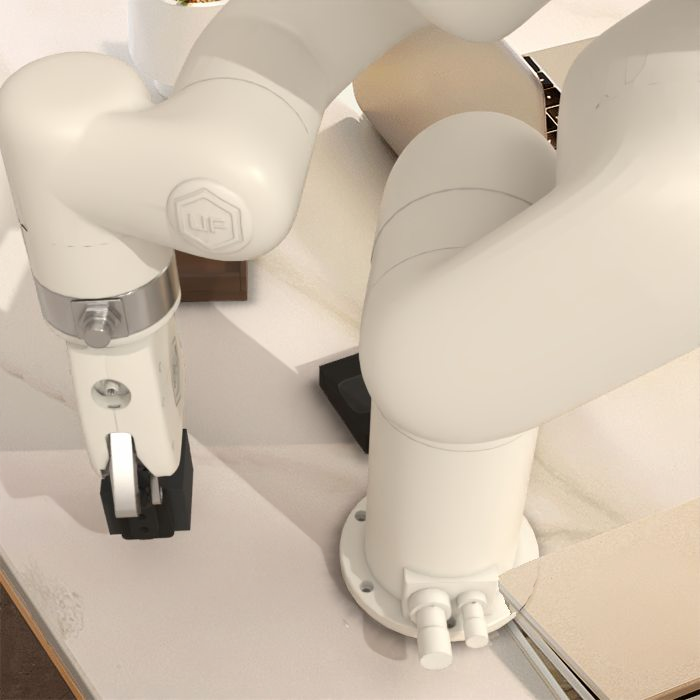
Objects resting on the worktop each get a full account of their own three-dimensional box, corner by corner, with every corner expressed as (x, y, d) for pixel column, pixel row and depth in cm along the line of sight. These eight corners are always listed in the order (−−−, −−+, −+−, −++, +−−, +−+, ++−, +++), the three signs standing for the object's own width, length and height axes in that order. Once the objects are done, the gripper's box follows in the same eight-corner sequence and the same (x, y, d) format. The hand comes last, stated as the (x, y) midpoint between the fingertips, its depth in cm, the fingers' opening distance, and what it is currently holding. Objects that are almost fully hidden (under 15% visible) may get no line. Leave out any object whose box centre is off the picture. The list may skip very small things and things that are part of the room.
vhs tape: (542, 391, 92) (545, 372, 91) (366, 456, 87) (367, 436, 86) (488, 328, 97) (490, 308, 95) (318, 385, 92) (318, 366, 90)
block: (190, 530, 79) (183, 489, 76) (109, 535, 79) (99, 493, 76) (193, 470, 82) (186, 428, 80) (116, 474, 82) (106, 432, 80)
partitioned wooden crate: (247, 300, 98) (245, 250, 95) (151, 302, 98) (145, 252, 95) (248, 189, 109) (246, 140, 105) (161, 190, 108) (156, 141, 105)
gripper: (169, 389, 62) (207, 608, 74) (184, 182, 74) (214, 399, 87) (14, 397, 62) (78, 615, 74) (55, 188, 74) (104, 405, 87)
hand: (151, 497), depth 80 cm, fingers closed on block, 5 cm apart
